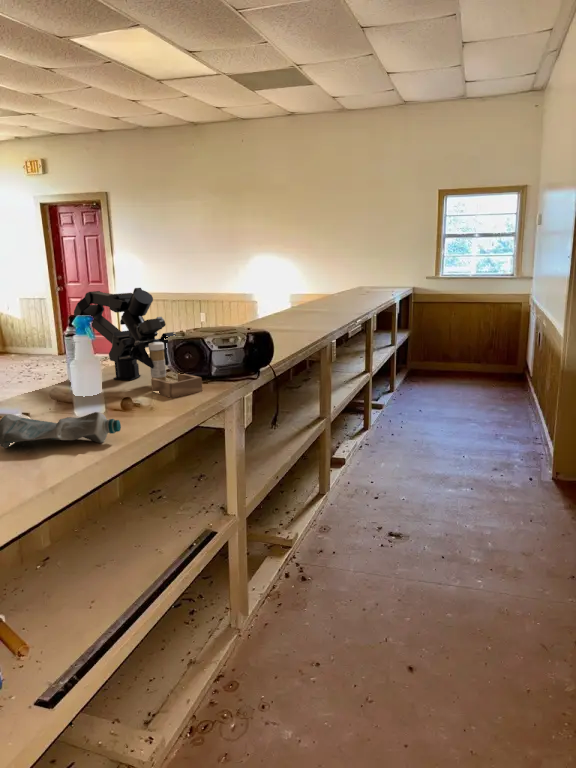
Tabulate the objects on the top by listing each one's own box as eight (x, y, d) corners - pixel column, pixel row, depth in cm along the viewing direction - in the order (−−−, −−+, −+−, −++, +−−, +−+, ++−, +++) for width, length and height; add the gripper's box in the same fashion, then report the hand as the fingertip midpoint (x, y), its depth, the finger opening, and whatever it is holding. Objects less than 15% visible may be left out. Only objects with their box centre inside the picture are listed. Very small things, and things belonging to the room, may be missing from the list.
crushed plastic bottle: (-12, 455, 113) (110, 451, 112) (-17, 421, 112) (107, 416, 111) (19, 439, 126) (129, 435, 125) (15, 408, 125) (126, 404, 124)
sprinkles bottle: (162, 384, 170) (159, 341, 167) (169, 386, 167) (166, 342, 164) (149, 386, 168) (145, 342, 164) (155, 389, 164) (152, 344, 161)
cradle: (152, 392, 161) (151, 378, 160) (181, 385, 168) (180, 372, 167) (172, 398, 154) (171, 384, 153) (202, 390, 161) (201, 377, 161)
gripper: (117, 311, 158) (142, 354, 153) (172, 305, 171) (196, 344, 166) (106, 336, 165) (129, 377, 160) (159, 329, 178) (182, 367, 173)
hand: (160, 366), depth 165 cm, fingers open, 5 cm apart
